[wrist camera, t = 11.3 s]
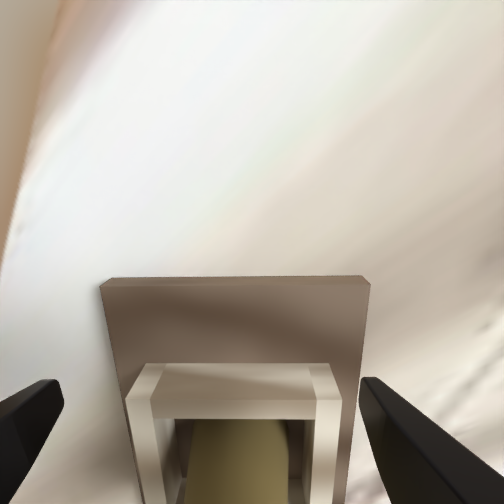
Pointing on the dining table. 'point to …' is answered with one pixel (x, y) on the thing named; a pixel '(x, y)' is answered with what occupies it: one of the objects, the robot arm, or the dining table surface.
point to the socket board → (239, 370)
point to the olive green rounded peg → (238, 462)
